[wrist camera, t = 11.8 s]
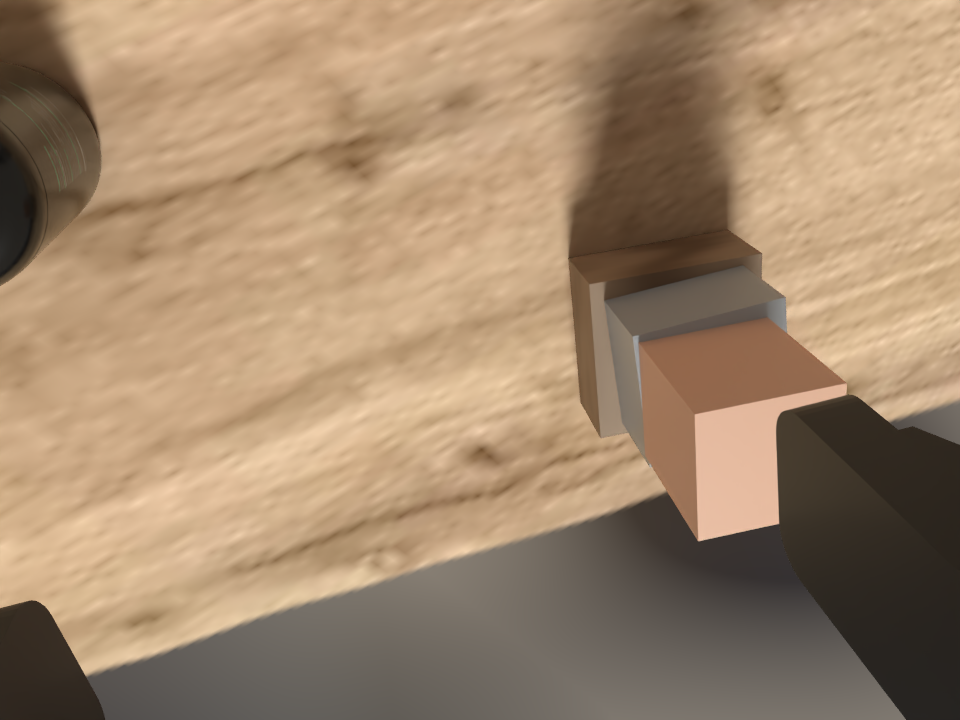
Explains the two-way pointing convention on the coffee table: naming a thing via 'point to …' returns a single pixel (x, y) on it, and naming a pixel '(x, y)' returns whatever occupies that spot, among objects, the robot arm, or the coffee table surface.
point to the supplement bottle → (40, 164)
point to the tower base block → (625, 276)
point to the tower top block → (680, 324)
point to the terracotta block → (725, 418)
